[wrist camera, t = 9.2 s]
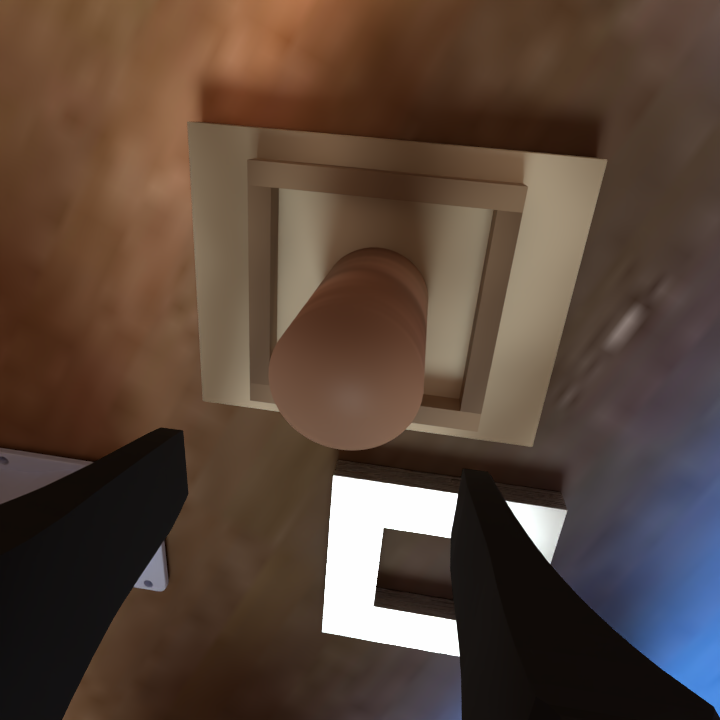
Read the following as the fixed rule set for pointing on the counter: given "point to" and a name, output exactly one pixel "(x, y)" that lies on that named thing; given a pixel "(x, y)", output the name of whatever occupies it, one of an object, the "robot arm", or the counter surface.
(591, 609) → the robot arm
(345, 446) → the peg
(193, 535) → the counter surface
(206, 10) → the counter surface
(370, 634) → the socket block
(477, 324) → the beige rectangular frame
